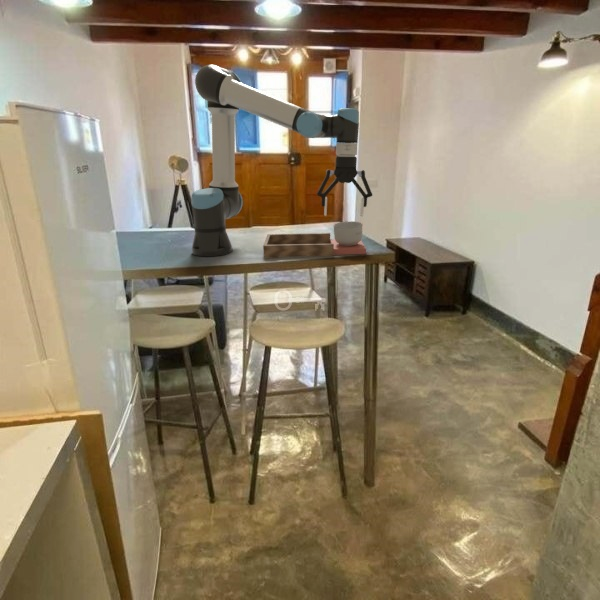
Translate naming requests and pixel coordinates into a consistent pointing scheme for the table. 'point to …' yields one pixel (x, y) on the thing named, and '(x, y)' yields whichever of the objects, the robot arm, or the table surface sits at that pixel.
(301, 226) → the table surface
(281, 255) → the crate
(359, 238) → the teacup
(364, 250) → the pink flat slab
